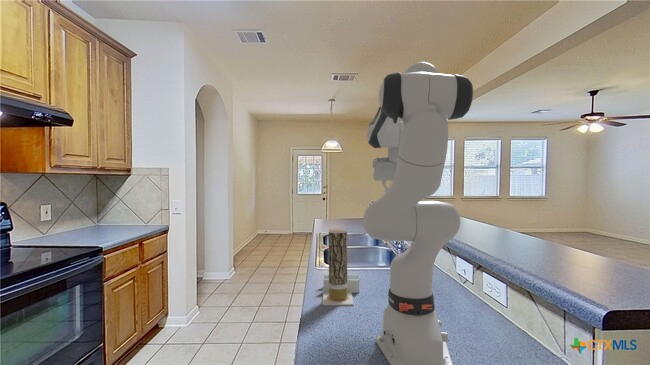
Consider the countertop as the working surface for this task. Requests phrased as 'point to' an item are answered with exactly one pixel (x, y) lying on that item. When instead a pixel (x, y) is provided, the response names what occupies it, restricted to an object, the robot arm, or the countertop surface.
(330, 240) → the wooden log
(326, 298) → the resting pad
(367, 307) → the countertop surface
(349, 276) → the low walls
